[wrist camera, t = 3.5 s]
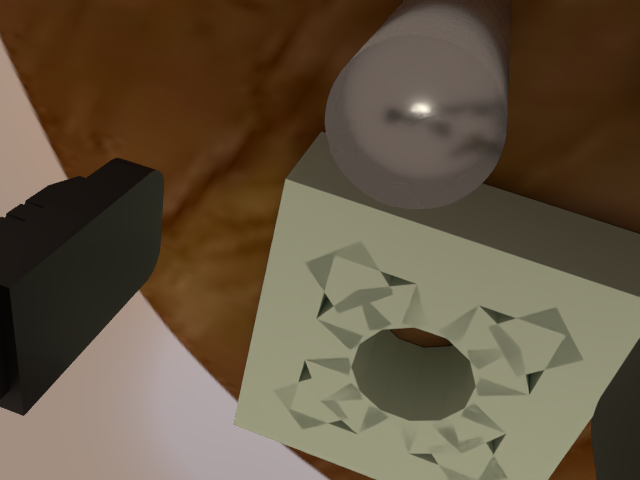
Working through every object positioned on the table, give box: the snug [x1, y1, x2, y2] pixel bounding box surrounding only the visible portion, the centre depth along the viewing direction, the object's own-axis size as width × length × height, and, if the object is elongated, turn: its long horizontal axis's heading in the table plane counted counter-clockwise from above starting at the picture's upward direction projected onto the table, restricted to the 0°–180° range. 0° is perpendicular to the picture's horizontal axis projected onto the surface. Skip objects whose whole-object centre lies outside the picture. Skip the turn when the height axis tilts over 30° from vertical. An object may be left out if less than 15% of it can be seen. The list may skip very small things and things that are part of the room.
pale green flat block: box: [234, 131, 640, 480], centre depth 28 cm, size 14×14×5 cm
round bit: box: [325, 0, 511, 209], centre depth 18 cm, size 4×4×12 cm
